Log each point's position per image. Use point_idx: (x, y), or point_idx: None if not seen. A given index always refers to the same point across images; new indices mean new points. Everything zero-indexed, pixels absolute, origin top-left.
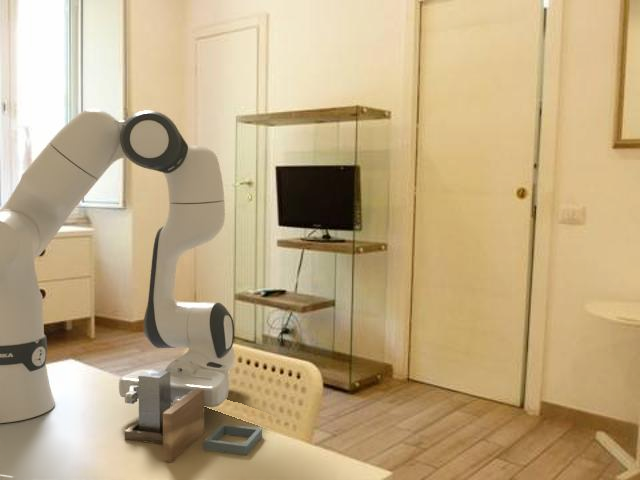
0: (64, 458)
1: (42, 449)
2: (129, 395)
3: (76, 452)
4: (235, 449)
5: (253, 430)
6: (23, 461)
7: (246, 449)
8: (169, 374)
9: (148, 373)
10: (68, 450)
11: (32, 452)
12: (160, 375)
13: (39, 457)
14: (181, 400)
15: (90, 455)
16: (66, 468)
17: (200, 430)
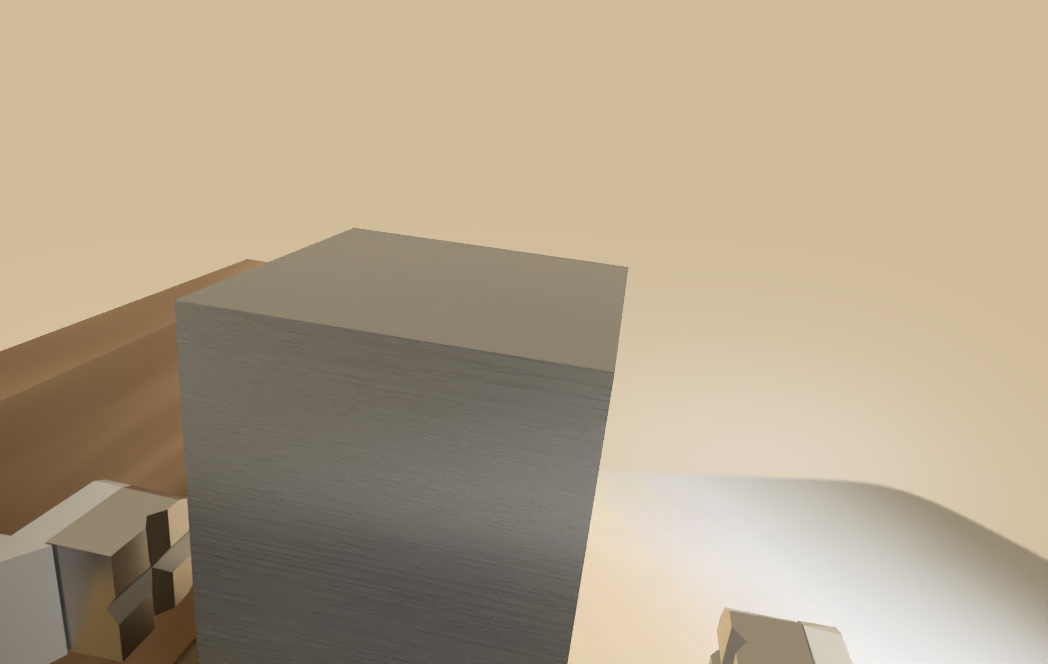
0: (811, 566)
1: (1030, 647)
2: (764, 616)
3: (812, 615)
4: None
5: None
6: (959, 550)
7: None
8: (196, 347)
9: (533, 282)
10: (878, 635)
11: (1034, 618)
12: (344, 246)
13: (936, 576)
14: (136, 331)
15: (710, 587)
16: (722, 503)
17: None
